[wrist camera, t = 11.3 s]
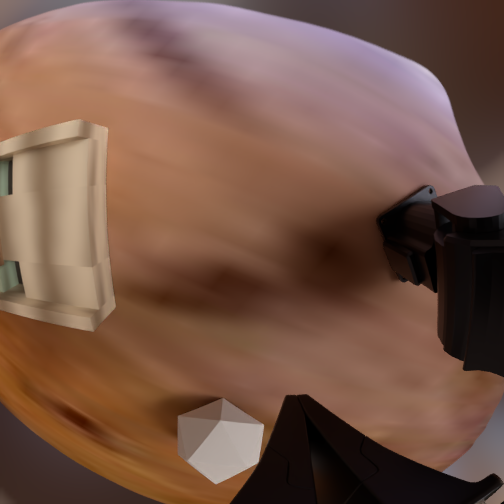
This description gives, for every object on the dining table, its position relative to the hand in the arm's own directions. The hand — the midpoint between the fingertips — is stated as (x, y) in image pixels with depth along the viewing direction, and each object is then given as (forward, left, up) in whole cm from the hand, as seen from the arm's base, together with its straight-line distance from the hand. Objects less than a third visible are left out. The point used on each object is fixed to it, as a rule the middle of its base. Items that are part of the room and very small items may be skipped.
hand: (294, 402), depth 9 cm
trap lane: (+18, -17, -13) cm, 28 cm away
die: (+12, +11, -13) cm, 21 cm away
